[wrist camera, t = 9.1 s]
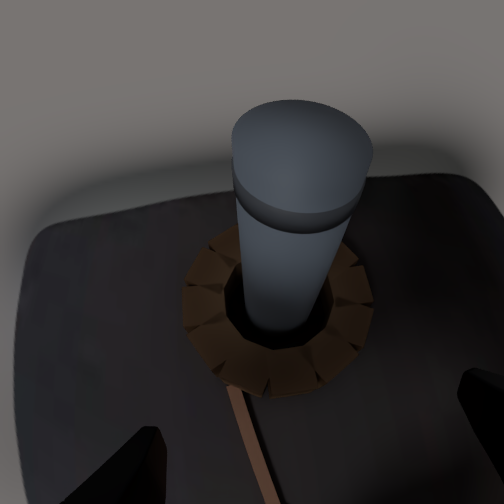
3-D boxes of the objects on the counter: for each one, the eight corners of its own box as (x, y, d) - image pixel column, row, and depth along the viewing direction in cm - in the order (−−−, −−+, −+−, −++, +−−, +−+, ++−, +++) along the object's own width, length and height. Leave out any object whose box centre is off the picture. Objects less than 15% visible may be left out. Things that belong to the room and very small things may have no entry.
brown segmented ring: (327, 421, 15) (339, 420, 13) (162, 353, 17) (149, 342, 15) (373, 270, 19) (386, 250, 17) (234, 221, 22) (231, 198, 19)
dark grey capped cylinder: (315, 333, 17) (400, 178, 7) (253, 349, 17) (247, 202, 6) (297, 278, 19) (338, 95, 9) (239, 291, 19) (219, 107, 8)
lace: (342, 551, 10) (344, 554, 10) (292, 567, 10) (293, 571, 9) (277, 372, 16) (278, 370, 16) (226, 387, 16) (225, 385, 15)
